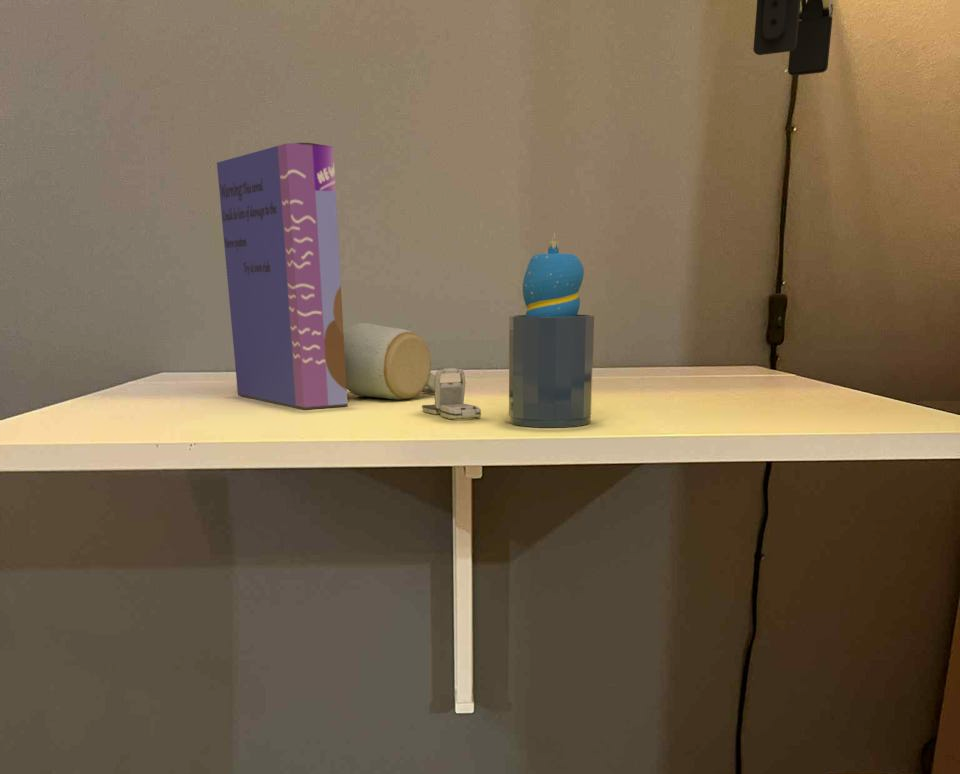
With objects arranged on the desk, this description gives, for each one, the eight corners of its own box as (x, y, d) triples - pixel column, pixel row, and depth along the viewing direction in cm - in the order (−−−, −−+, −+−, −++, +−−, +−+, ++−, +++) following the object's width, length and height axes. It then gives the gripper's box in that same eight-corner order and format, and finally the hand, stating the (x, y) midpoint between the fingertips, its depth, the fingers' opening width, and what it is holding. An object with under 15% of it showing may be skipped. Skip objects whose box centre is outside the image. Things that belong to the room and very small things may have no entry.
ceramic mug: (388, 403, 102) (386, 325, 99) (335, 397, 107) (332, 323, 104) (457, 396, 109) (457, 323, 107) (405, 391, 114) (404, 322, 112)
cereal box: (347, 406, 100) (333, 144, 92) (304, 409, 97) (285, 140, 89) (277, 392, 114) (259, 162, 105) (238, 395, 111) (216, 160, 103)
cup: (604, 419, 88) (607, 314, 85) (567, 429, 83) (570, 317, 80) (534, 415, 92) (535, 314, 89) (494, 424, 86) (494, 316, 83)
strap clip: (484, 419, 90) (483, 370, 88) (453, 420, 89) (453, 372, 87) (447, 409, 97) (447, 364, 96) (419, 410, 96) (418, 365, 95)
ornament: (571, 410, 90) (575, 234, 85) (587, 417, 85) (592, 230, 80) (516, 412, 89) (517, 234, 84) (528, 419, 84) (530, 231, 79)
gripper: (838, -259, 65) (811, 36, 71) (889, -166, 79) (862, 75, 85) (728, -229, 69) (711, 49, 75) (795, -145, 83) (775, 85, 89)
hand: (791, 63), depth 80 cm, fingers open, 9 cm apart
